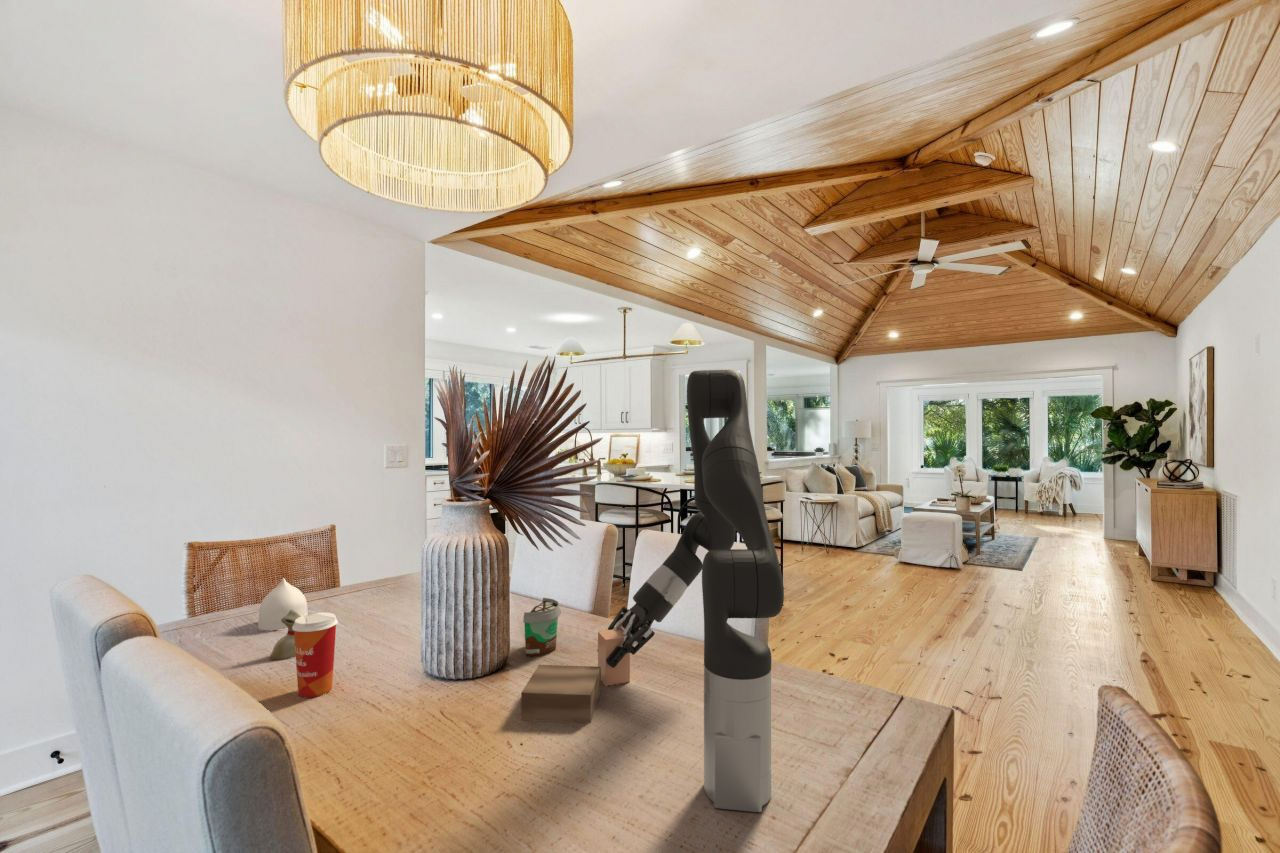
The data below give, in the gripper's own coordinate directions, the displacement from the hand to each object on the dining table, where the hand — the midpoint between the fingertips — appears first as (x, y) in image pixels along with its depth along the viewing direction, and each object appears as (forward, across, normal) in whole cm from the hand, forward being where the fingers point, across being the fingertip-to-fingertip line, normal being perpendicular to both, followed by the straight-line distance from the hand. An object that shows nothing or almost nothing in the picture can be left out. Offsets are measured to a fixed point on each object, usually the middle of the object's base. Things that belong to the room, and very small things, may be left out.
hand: (605, 659), depth 118 cm
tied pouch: (+46, -38, -40) cm, 72 cm away
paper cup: (+40, -15, -34) cm, 55 cm away
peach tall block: (+2, 0, +4) cm, 5 cm away
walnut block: (+10, +7, -4) cm, 13 cm away
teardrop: (+50, -62, -44) cm, 91 cm away
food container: (+8, -20, -2) cm, 22 cm away
